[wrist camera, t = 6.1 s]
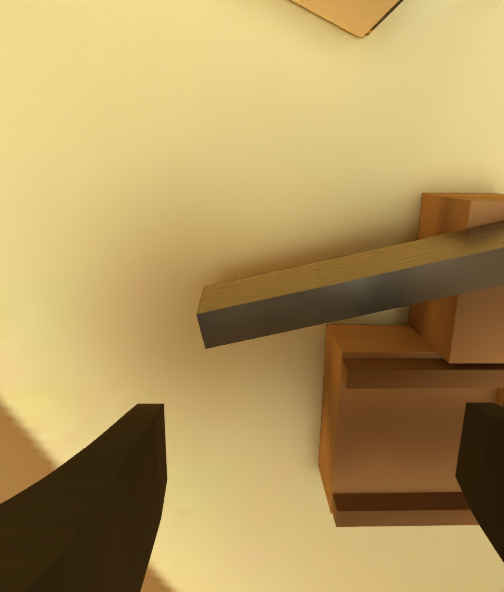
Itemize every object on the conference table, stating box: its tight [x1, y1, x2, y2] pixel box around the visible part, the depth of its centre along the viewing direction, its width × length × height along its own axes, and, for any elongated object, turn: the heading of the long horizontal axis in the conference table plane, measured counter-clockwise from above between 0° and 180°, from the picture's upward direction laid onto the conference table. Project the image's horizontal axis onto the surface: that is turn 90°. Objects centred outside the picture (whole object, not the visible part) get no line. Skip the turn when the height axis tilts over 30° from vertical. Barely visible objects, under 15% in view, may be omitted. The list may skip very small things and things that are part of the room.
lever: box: [196, 221, 504, 349], centre depth 13 cm, size 11×1×3 cm, turn 102°
